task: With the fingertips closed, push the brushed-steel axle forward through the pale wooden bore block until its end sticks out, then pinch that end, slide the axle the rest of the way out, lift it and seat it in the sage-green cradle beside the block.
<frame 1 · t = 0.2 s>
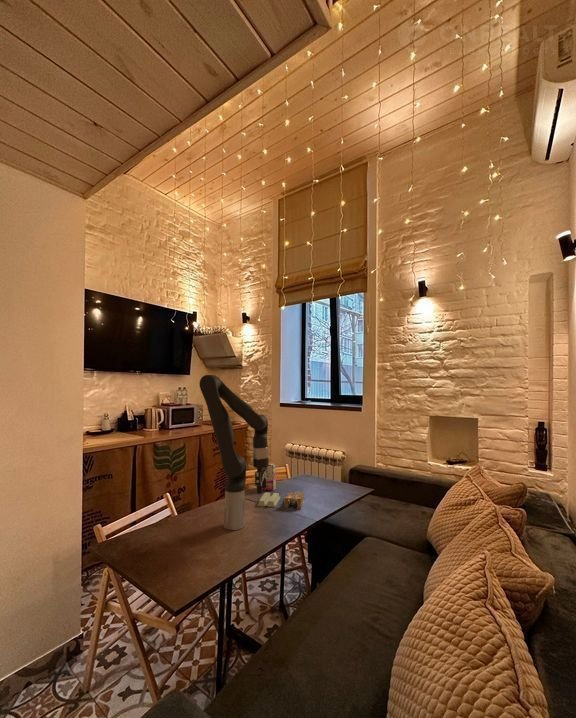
hand: (261, 490, 158), 17 cm above the table, tool pointing down, fingers open, 8 cm apart
steel axle: (295, 502, 191), on the table
bore block: (294, 503, 188), on the table
axle cradle: (269, 502, 190), on the table
candy bar box: (266, 489, 213), on the table
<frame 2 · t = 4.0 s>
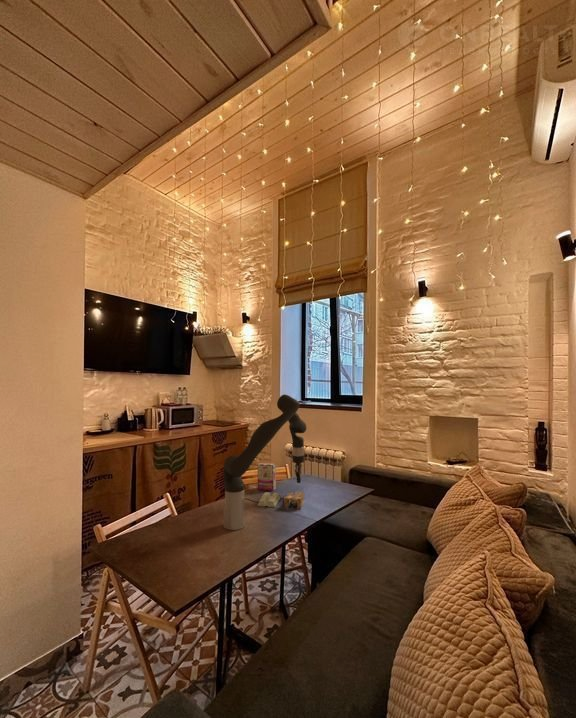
hand: (298, 482, 202), 7 cm above the table, tool pointing down, fingers closed
steel axle: (295, 502, 191), on the table, tilted 16°
everything else where it was.
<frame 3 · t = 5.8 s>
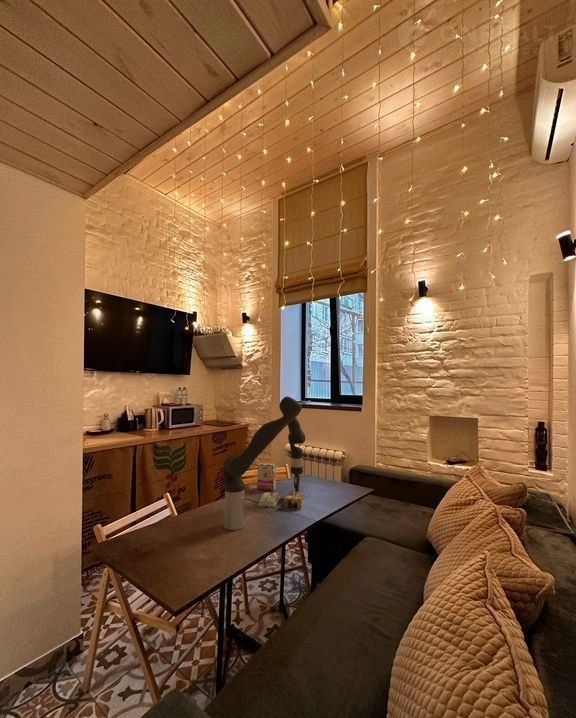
hand: (297, 494, 199), 2 cm above the table, tool pointing down, fingers closed
steel axle: (295, 502, 190), on the table, tilted 11°, touching gripper
everything else where it was.
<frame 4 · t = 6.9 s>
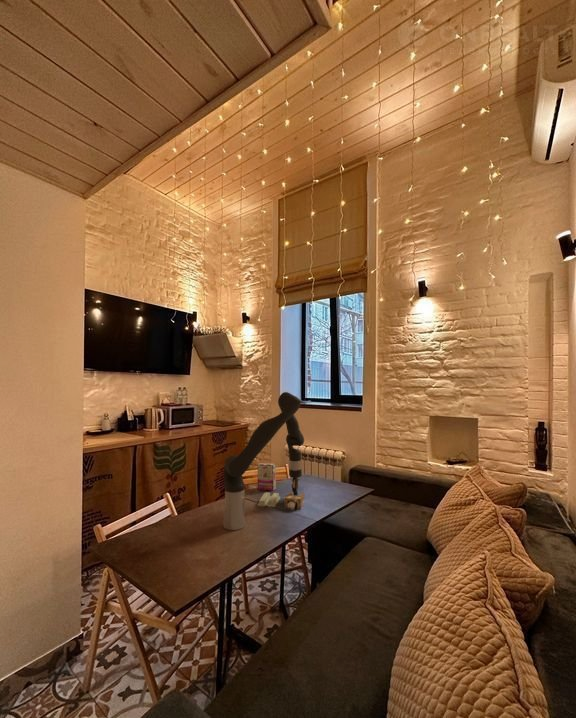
hand: (295, 497, 193), 2 cm above the table, tool pointing down, fingers closed
steel axle: (293, 506, 184), on the table, tilted 11°, touching gripper
everything else where it was.
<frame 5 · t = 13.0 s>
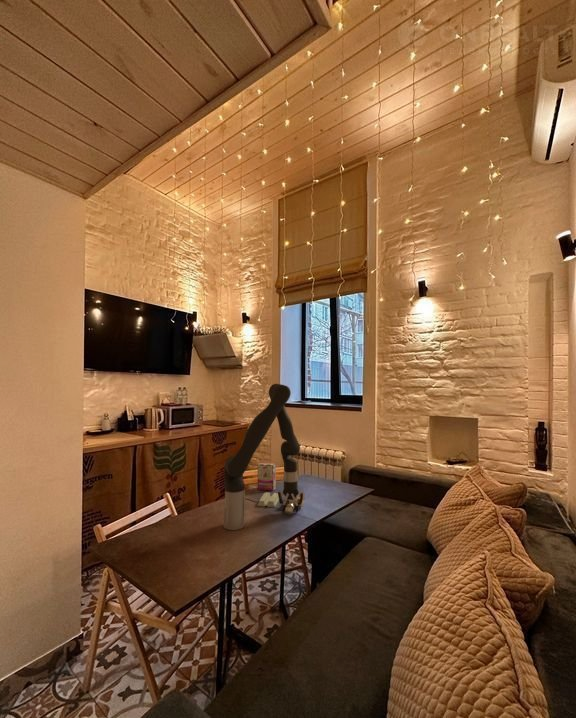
hand: (290, 511, 174), 1 cm above the table, tool pointing down, fingers open, 5 cm apart
steel axle: (292, 510, 178), on the table, tilted 17°, touching gripper
everything else where it was.
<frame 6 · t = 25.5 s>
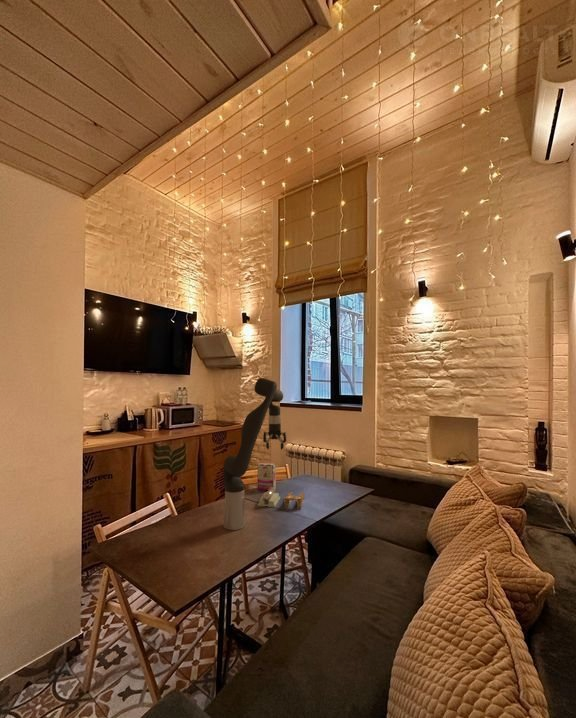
hand: (274, 449, 203), 28 cm above the table, tool pointing down, fingers open, 8 cm apart
steel axle: (269, 497, 190), point 3 cm above the table, touching axle cradle
everything else where it was.
at the end: steel axle inside the target area on the axle cradle (0.2 cm from its centre), point 2.6 cm above the axle cradle's base; steel axle touching axle cradle; the gripper is holding nothing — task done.
